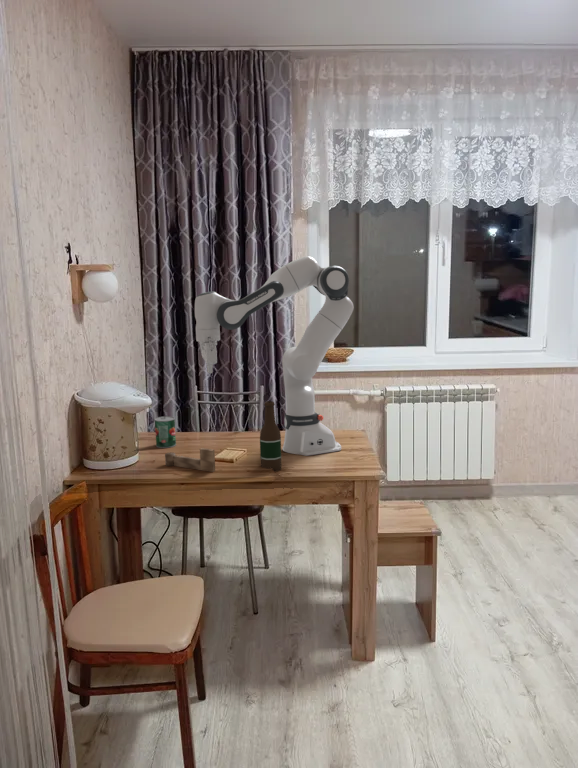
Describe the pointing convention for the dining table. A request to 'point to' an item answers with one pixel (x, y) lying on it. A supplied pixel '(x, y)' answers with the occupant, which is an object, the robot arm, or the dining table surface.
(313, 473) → the dining table surface
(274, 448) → the beer bottle
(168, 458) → the wooden l-shaped block
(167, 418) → the canned tomato
